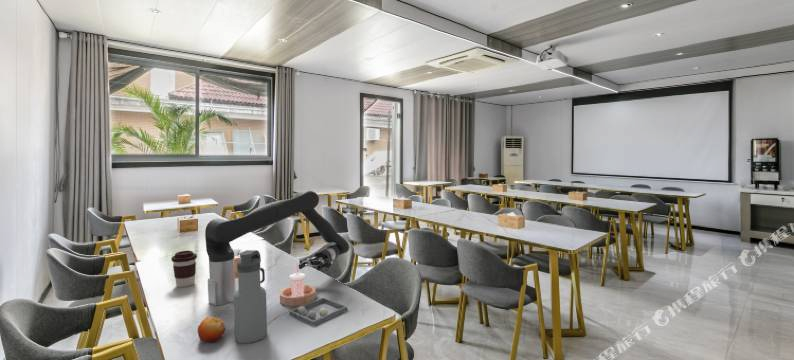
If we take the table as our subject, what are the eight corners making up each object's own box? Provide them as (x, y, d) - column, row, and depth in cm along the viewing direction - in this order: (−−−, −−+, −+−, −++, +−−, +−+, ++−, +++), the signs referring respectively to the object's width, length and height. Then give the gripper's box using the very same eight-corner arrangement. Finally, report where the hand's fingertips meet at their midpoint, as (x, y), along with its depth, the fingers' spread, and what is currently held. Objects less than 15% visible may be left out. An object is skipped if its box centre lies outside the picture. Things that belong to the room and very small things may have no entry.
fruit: (198, 329, 120) (210, 309, 120) (220, 340, 121) (232, 320, 121) (186, 342, 112) (199, 320, 112) (209, 354, 113) (222, 332, 112)
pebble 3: (323, 319, 130) (322, 310, 130) (317, 316, 132) (317, 308, 132) (329, 316, 133) (329, 308, 133) (324, 313, 135) (323, 306, 134)
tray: (313, 325, 125) (313, 321, 125) (289, 314, 134) (289, 310, 134) (347, 310, 138) (347, 306, 138) (323, 301, 146) (323, 297, 146)
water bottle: (243, 328, 124) (240, 247, 122) (272, 328, 123) (269, 247, 121) (229, 344, 113) (225, 256, 111) (260, 344, 113) (257, 256, 111)
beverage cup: (286, 298, 147) (285, 264, 146) (296, 293, 153) (295, 260, 152) (299, 300, 145) (298, 266, 144) (308, 294, 151) (307, 261, 150)
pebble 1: (300, 317, 132) (300, 309, 132) (295, 314, 134) (295, 306, 134) (307, 314, 134) (307, 306, 134) (302, 312, 136) (302, 304, 136)
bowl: (293, 309, 139) (293, 300, 139) (273, 299, 148) (272, 292, 148) (322, 297, 150) (322, 290, 150) (301, 289, 159) (301, 282, 158)
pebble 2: (311, 321, 128) (311, 313, 128) (306, 319, 130) (305, 311, 130) (318, 318, 131) (317, 310, 130) (312, 316, 132) (312, 308, 132)
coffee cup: (167, 287, 163) (166, 254, 162) (187, 279, 172) (186, 248, 171) (183, 290, 159) (181, 256, 158) (202, 282, 168) (201, 250, 167)
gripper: (311, 248, 174) (293, 258, 159) (338, 250, 171) (323, 260, 155) (311, 263, 175) (294, 274, 159) (339, 265, 171) (324, 277, 156)
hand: (308, 267), depth 157 cm, fingers open, 8 cm apart
